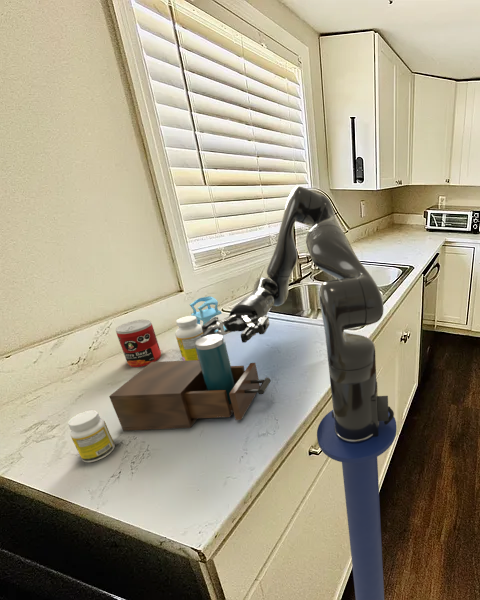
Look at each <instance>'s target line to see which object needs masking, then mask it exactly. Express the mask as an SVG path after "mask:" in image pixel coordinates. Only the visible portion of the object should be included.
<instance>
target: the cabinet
mask: <svg viewBox="0 0 480 600" xmlns="http://www.w3.org/2000/svg"><path fill="white" fill-rule="evenodd" d="M201 374H202V370H201V366H200V363H199V360H190V361H183V360H165V361H155V362H151V363H150V364H148V365H146V366H144V367H143V368H142V369H141V370H140V371H138V372H137V373H135V375H133V376H132V377H131V378H129V380H127V381H126V382H124V384H123V385H121V386H119V387H118V389H116V390H114V391H113V392H112V393H111V394H110V395H109V396H108V397H109V400H110V402H111V404H112V407H113V409H114V412H115V414H116V417H117V420H118V422H119V424H120V427H121V430H122V431H124V432H125V431H127V432H128V431H147V430H150V431H151V430H169V429H190V428H192V427H193V426H194V424H195V423H196V421H197V420H198V419H199V418H195V419H191V418H190V415H189V411H188V408H187V405H186V402H185V398H184V395H183V394H184V393H185V392H186V391H187V390H188V388H189V387H190V386H191V385H192V384H193V383H194V382H195V381H196V380H197V379H198V378H199V376H200V375H201Z"/></svg>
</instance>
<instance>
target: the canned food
mask: <svg viewBox="0 0 480 600" xmlns="http://www.w3.org/2000/svg"><path fill="white" fill-rule="evenodd" d="M115 333H116V336H117V339H118V342H119V344H120V348H121V350H122V352H123V355H124V357H125V361H126V363H127V364H128V366H129V367H130V368H141V367H146V366H147V365H148V364H150V363H151V362H158V360H159V359H160V358H161V357H162V352H161V348H160V345H159V341H158V339H157V335H156V333H155V329H154V326H153V323H152V321H151V320H150V319H136V320H132V321H128V322H125V323H122V324H120V325H119V326H117V327H116V328H115Z"/></svg>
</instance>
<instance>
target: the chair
mask: <svg viewBox="0 0 480 600" xmlns="http://www.w3.org/2000/svg"><path fill="white" fill-rule="evenodd" d="M200 302H203V303H202V304H201V305H200V306H198V307H197V309H196V307H195V305H196V304H198V303H200ZM218 303H219V302H218V300H217V299H216V298H215V297H214V296H211V295H209V296H202V297H199V298H197V299H195V300H194V301H193V302H192V303H190V304H189V306H190V308H191V309H192V313H190V316H196V318H197V324H200V325H201V322H202V326H203V325H204V324H205V323H207V322H208V321H209V320H211V319H212V318H214V317H217V316H219V315H222V311H221V310H219V309H218V305H219V304H218ZM212 305H213V306H214V307H211V306H212ZM206 307H207V308H206ZM204 308H205V309H204ZM197 310H198V311H197ZM223 328H224V331H225V330H227V329H226V328H225V326H224V325H223ZM217 331H218V329H216V330H215V332H217Z"/></svg>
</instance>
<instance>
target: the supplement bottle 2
mask: <svg viewBox="0 0 480 600" xmlns="http://www.w3.org/2000/svg"><path fill="white" fill-rule="evenodd" d="M175 323H176V326H177V327H178V328H177V329H176V330H175V332H174V335H175V338H176V342H177V345H178V348H179V352H180V355H181V359H182V361H190V360H199V359H198V355H197V352H196V348H195V347H196V344H195V342H196V341H197V340H198V339H200V338H201V335H202V334H203V331H202V326H203V324H201V323H200V324H197V318H196V316H191V315H186V316H182V317H180V318H178V319H176V321H175Z"/></svg>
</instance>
